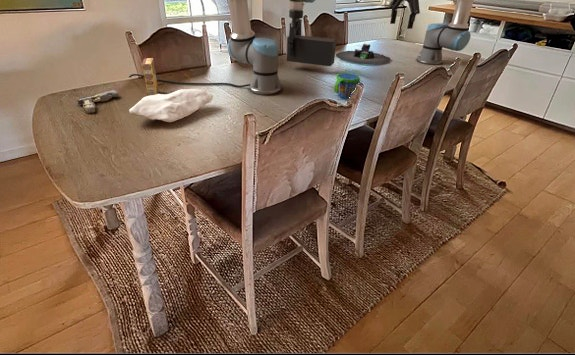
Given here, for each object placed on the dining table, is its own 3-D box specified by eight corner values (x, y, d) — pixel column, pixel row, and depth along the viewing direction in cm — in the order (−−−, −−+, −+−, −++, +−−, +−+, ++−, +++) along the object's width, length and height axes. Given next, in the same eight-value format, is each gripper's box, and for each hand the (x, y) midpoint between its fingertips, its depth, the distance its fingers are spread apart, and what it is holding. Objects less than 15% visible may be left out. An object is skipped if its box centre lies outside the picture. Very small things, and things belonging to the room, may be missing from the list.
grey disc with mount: (401, 60, 233) (403, 45, 228) (362, 67, 215) (363, 51, 211) (362, 51, 258) (364, 38, 253) (324, 57, 240) (325, 42, 236)
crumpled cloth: (117, 110, 146) (113, 90, 140) (195, 92, 166) (194, 73, 160) (143, 139, 134) (140, 118, 128) (223, 116, 154) (224, 96, 148)
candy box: (157, 97, 164) (152, 63, 155) (147, 98, 163) (141, 63, 155) (158, 91, 171) (153, 57, 163) (149, 91, 170) (143, 58, 162)
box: (286, 61, 206) (287, 37, 199) (291, 57, 212) (291, 34, 205) (330, 66, 199) (332, 42, 192) (334, 62, 205) (336, 39, 198)
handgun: (128, 97, 156) (111, 87, 164) (86, 107, 144) (70, 97, 152) (129, 103, 157) (113, 94, 165) (88, 114, 146) (72, 103, 154)
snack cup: (350, 91, 181) (353, 70, 175) (365, 97, 173) (368, 76, 168) (326, 96, 173) (328, 75, 168) (340, 103, 166) (343, 81, 160)
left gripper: (296, 13, 185) (294, 58, 197) (308, 7, 201) (306, 49, 213) (282, 11, 187) (282, 57, 199) (295, 6, 203) (294, 48, 215)
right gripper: (434, -18, 169) (423, 30, 180) (399, -23, 188) (391, 21, 199) (421, -19, 166) (411, 31, 177) (387, -23, 185) (380, 22, 196)
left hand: (294, 53), depth 206 cm, fingers closed on box, 8 cm apart
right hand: (400, 26), depth 188 cm, fingers open, 13 cm apart
